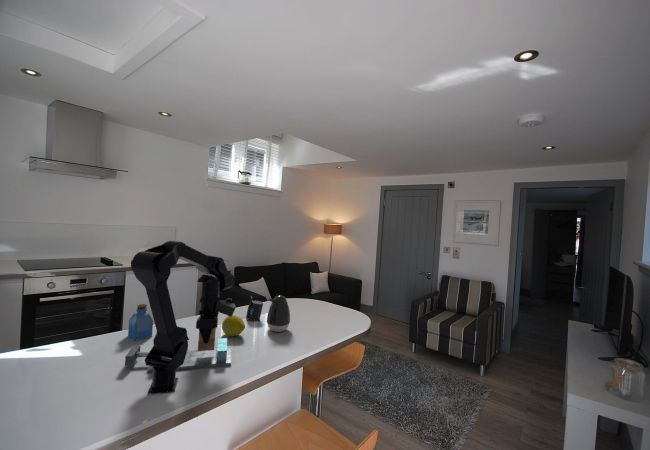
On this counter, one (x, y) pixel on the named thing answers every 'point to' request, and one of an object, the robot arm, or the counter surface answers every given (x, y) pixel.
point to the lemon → (233, 325)
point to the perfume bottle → (140, 324)
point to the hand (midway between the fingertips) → (206, 340)
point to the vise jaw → (135, 355)
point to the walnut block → (209, 345)
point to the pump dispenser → (278, 314)
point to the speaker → (254, 310)
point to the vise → (206, 357)
